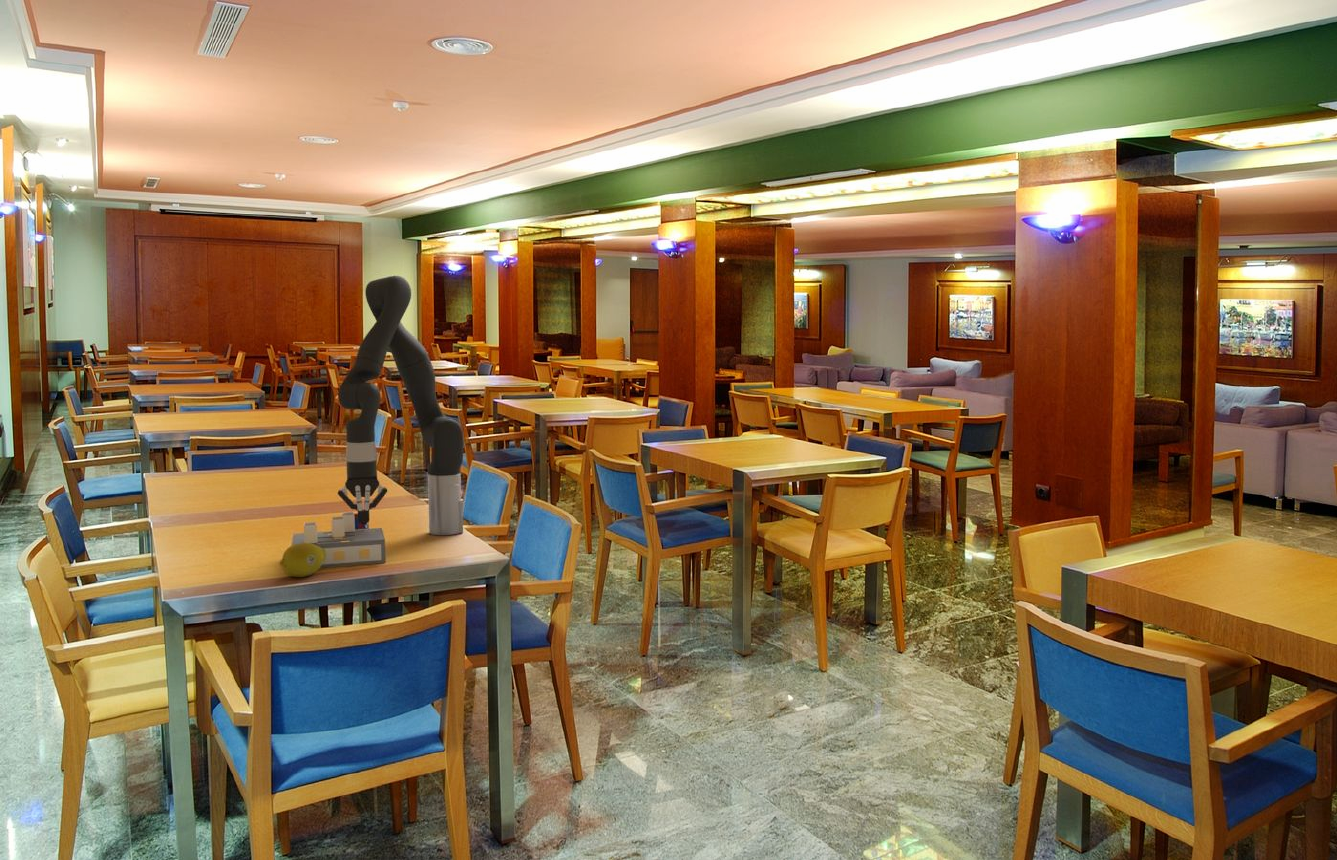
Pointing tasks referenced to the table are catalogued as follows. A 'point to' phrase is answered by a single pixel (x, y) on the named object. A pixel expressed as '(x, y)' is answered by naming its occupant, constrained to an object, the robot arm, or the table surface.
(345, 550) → the console
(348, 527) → the slider far
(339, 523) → the slider mid
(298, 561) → the lemon
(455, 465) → the robot arm
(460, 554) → the table surface
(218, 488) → the table surface
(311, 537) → the slider near
